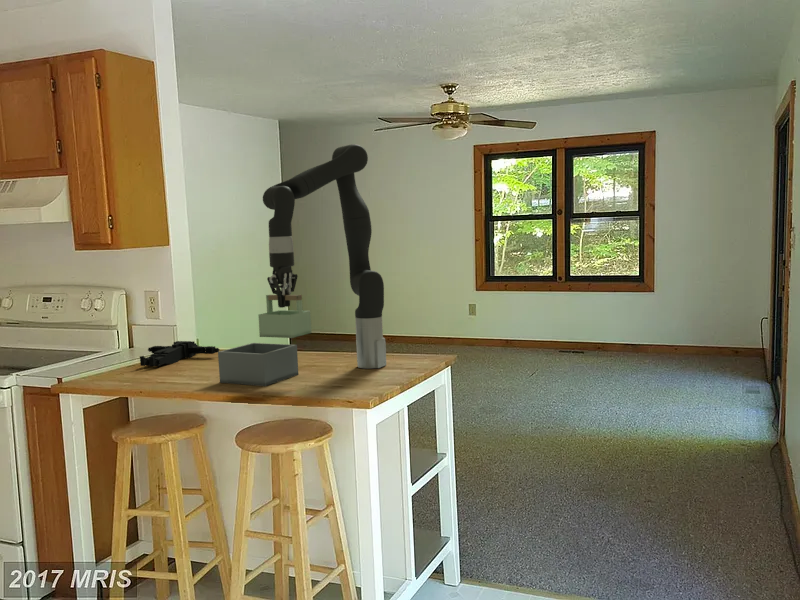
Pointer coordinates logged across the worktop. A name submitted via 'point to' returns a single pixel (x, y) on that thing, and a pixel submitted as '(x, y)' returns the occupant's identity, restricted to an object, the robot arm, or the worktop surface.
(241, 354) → the charcoal crate
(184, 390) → the worktop surface
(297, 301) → the green basket
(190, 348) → the toy
